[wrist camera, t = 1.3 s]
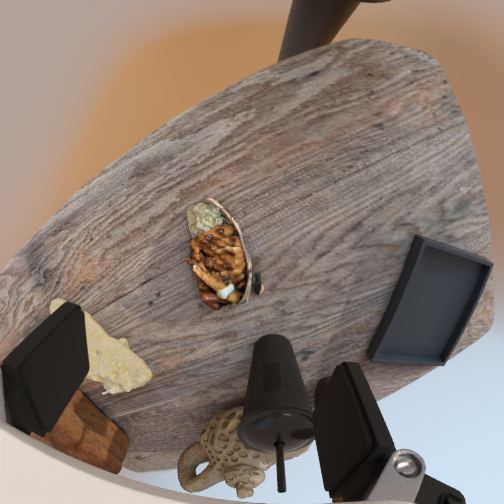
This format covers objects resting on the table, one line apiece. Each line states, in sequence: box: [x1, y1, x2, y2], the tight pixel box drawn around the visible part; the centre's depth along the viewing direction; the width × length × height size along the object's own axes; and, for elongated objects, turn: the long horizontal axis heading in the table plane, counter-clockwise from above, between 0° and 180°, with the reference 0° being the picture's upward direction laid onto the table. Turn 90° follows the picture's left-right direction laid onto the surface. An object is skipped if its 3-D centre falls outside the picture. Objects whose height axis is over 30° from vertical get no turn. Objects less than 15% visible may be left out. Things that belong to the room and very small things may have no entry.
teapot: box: [178, 406, 313, 499], centre depth 33 cm, size 21×12×15 cm, turn 121°
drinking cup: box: [237, 334, 315, 493], centre depth 27 cm, size 8×8×20 cm
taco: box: [186, 198, 264, 312], centre depth 30 cm, size 7×12×4 cm, turn 22°
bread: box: [0, 361, 130, 475], centre depth 36 cm, size 14×28×12 cm, turn 32°
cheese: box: [49, 298, 153, 394], centre depth 33 cm, size 15×7×15 cm
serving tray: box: [366, 235, 494, 366], centre depth 33 cm, size 17×14×2 cm
